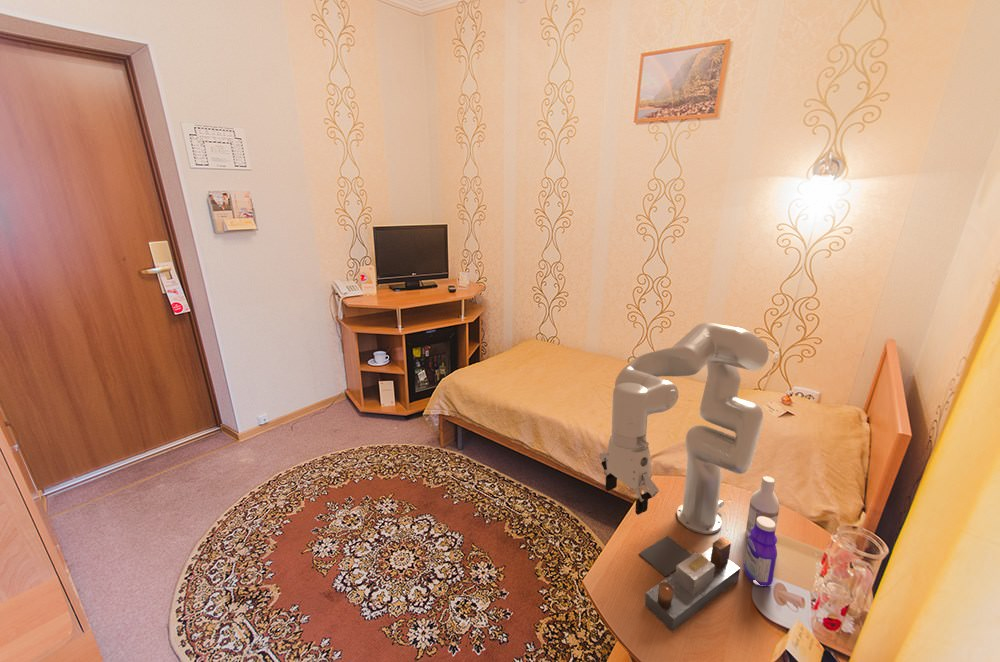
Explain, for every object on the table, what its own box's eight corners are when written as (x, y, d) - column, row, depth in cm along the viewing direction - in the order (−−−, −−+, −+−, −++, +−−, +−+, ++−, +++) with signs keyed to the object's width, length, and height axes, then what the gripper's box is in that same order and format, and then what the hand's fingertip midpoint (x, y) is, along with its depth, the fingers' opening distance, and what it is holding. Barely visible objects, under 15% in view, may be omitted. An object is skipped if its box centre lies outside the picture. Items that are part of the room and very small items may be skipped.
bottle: (739, 564, 111) (747, 511, 106) (761, 566, 110) (770, 512, 105) (752, 588, 104) (761, 532, 99) (776, 589, 103) (786, 533, 98)
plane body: (709, 559, 113) (713, 529, 110) (738, 580, 106) (743, 549, 103) (644, 605, 100) (646, 573, 98) (672, 632, 94) (675, 598, 91)
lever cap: (695, 565, 106) (697, 549, 105) (713, 579, 102) (715, 563, 101) (675, 580, 102) (676, 563, 101) (692, 595, 98) (694, 578, 97)
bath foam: (758, 549, 115) (768, 489, 110) (739, 531, 122) (748, 474, 116) (779, 544, 117) (790, 484, 111) (759, 527, 123) (768, 469, 118)
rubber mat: (667, 537, 121) (667, 535, 121) (694, 557, 113) (694, 556, 113) (639, 554, 115) (639, 553, 115) (665, 577, 108) (665, 575, 108)
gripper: (671, 449, 87) (666, 515, 92) (613, 416, 102) (611, 475, 107) (646, 460, 84) (642, 528, 88) (590, 425, 98) (589, 485, 103)
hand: (625, 499), depth 98 cm, fingers open, 9 cm apart
